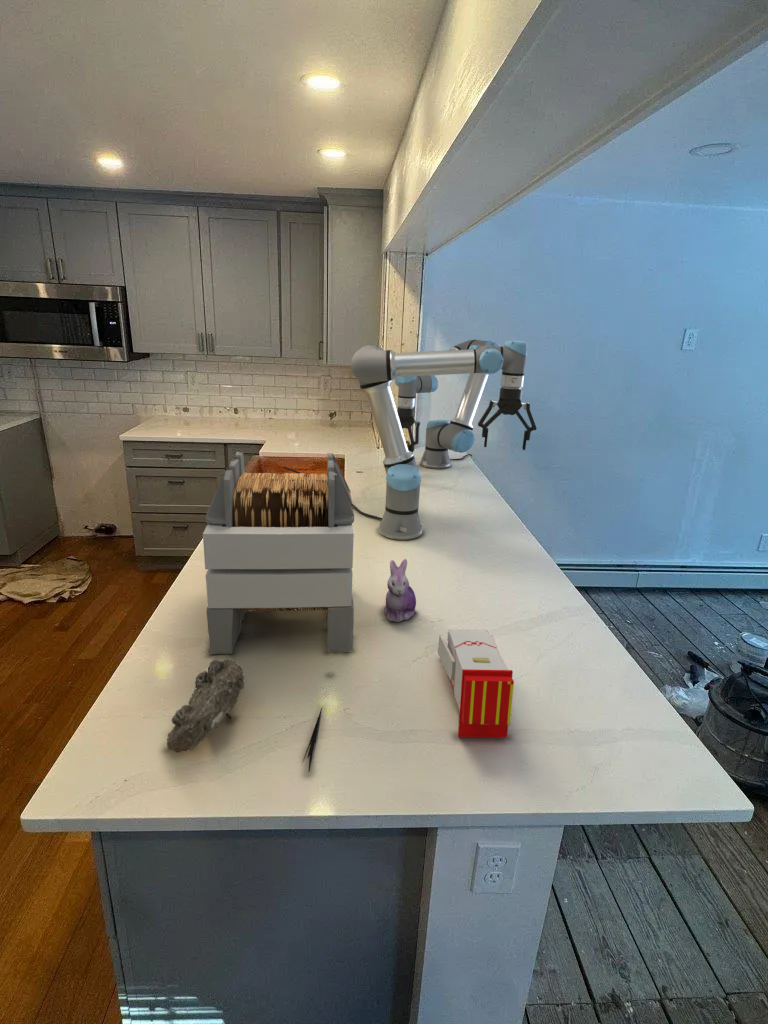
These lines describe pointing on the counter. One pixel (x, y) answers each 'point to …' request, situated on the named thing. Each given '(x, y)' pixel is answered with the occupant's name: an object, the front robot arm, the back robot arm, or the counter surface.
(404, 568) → the figurine
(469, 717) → the toy
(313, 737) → the feather
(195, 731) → the fossil
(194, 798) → the counter surface
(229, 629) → the record storage crate
